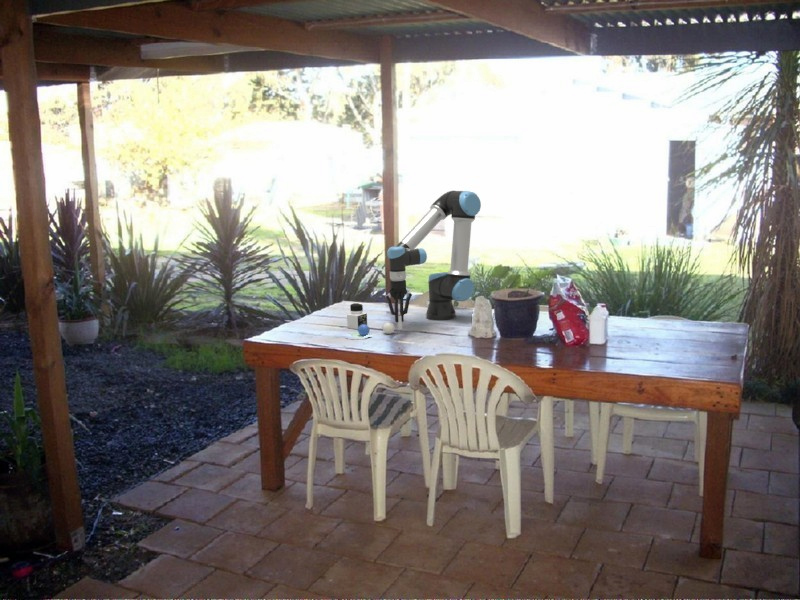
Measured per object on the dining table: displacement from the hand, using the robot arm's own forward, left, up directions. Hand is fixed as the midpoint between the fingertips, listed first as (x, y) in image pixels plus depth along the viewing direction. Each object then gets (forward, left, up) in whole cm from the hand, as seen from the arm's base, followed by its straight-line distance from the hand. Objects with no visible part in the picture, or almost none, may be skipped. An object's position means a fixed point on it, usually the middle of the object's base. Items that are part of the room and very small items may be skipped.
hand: (399, 328), depth 388 cm
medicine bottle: (+17, -19, -2) cm, 26 cm away
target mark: (+20, 0, -2) cm, 20 cm away
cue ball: (+6, 0, +1) cm, 6 cm away
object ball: (+17, 0, +1) cm, 17 cm away
